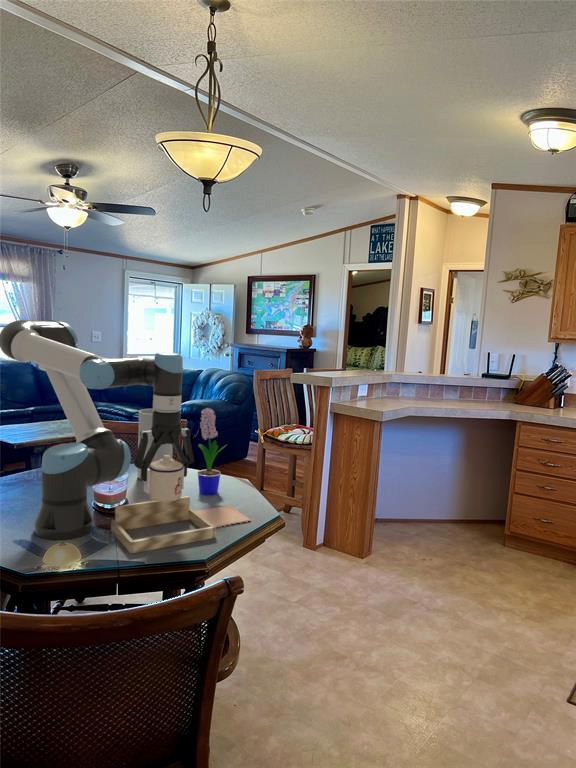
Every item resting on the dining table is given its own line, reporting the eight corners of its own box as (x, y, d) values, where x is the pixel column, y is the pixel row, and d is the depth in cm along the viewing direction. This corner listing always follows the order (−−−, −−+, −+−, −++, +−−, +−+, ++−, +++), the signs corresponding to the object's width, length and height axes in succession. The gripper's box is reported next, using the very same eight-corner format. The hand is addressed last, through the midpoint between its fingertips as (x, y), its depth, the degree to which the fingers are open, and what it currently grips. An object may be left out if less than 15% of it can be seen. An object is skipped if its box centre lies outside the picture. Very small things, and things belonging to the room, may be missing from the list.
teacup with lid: (181, 502, 150) (183, 460, 148) (147, 502, 148) (148, 459, 147) (182, 488, 162) (184, 449, 160) (150, 488, 160) (152, 448, 159)
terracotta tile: (208, 529, 161) (208, 527, 161) (189, 513, 173) (189, 511, 173) (250, 521, 169) (250, 519, 169) (229, 507, 181) (229, 505, 180)
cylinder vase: (143, 483, 200) (145, 415, 197) (132, 474, 211) (134, 409, 208) (176, 480, 207) (178, 413, 204) (164, 471, 217) (166, 408, 215)
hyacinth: (223, 497, 190) (227, 410, 186) (193, 495, 190) (196, 408, 187) (226, 489, 199) (230, 406, 195) (198, 488, 199) (201, 404, 195)
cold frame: (130, 553, 142) (131, 527, 141) (111, 530, 156) (111, 506, 155) (215, 537, 155) (216, 513, 155) (190, 517, 169) (191, 495, 169)
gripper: (131, 414, 143) (129, 499, 145) (209, 410, 155) (205, 489, 157) (122, 409, 149) (120, 490, 151) (198, 406, 161) (194, 481, 163)
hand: (163, 490), depth 154 cm, fingers closed on teacup with lid, 9 cm apart
